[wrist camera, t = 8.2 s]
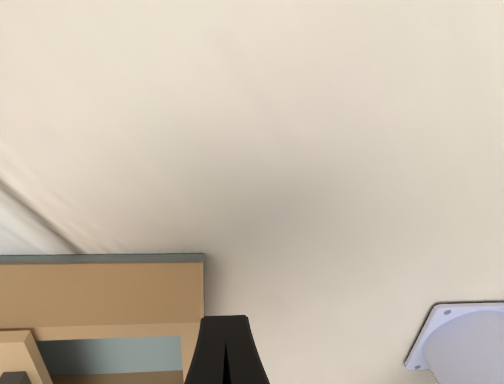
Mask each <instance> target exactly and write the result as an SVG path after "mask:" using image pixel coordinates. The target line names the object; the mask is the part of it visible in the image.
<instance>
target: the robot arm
mask: <svg viewBox="0 0 504 384" xmlns="http://www.w3.org/2000/svg"><path fill="white" fill-rule="evenodd" d="M405 367H406V369H407V370H410V371H411V370H431V371H432V373H433V375H434V377H435V378H436V380H437V382H438V384H504V302H502V303H467V304H439V305H436V306H435V307H434V308H433V309H432V311H431V313H430V315H429V317H428V319H427V321H426V323H425V325H424V327H423V329H422V331H421V333H420V335H419V337H418V339H417V341H416V343H415V345H414V346H413V348H412V350H411V352H410V354H409V356H408V358H407V360H406V362H405ZM184 384H270V383H269V380H268V378H267V375H266V373H265V371H264V368H263V365H262V363H261V360H260V357H259V354H258V352H257V349H256V346H255V343H254V340H253V336H252V333H251V329H250V325H249V320H248V317H246V316H245V315H233V316H204V317H203V318H201V321H200V329H199V334H198V339H197V343H196V347H195V351H194V354H193V358H192V361H191V364H190V367H189V370H188V373H187V376H186V379H185V382H184Z"/></svg>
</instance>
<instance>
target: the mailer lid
mask: <svg viewBox="0 0 504 384" xmlns="http://www.w3.org/2000/svg"><path fill="white" fill-rule="evenodd" d="M0 384H53V382H52V380H51V378H50V375H49V373H48V371H47V368H46V366H45V364H44V361H43V359H42V357H41V354H40V352H39V350H38V348H37V345H36V343H35V341H34V338H33V336H32V334H31V331H30V330H23V331H0Z"/></svg>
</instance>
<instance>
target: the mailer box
mask: <svg viewBox="0 0 504 384" xmlns="http://www.w3.org/2000/svg"><path fill="white" fill-rule="evenodd" d="M203 317H204V254H119V255H20V256H0V331H23V330H30V331H31V334H32V336H33V338H34V341H35V343H36V345H37V348H38V350H39V352H40V354H41V357H42V359H43V361H44V364H45V366H46V368H47V371H48V373H49V375H50V378H51V380H52V382H53V384H184V382H185V379H186V376H187V373H188V370H189V367H190V364H191V361H192V358H193V354H194V351H195V347H196V343H197V339H198V334H199V329H200V321H201V318H203Z"/></svg>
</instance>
